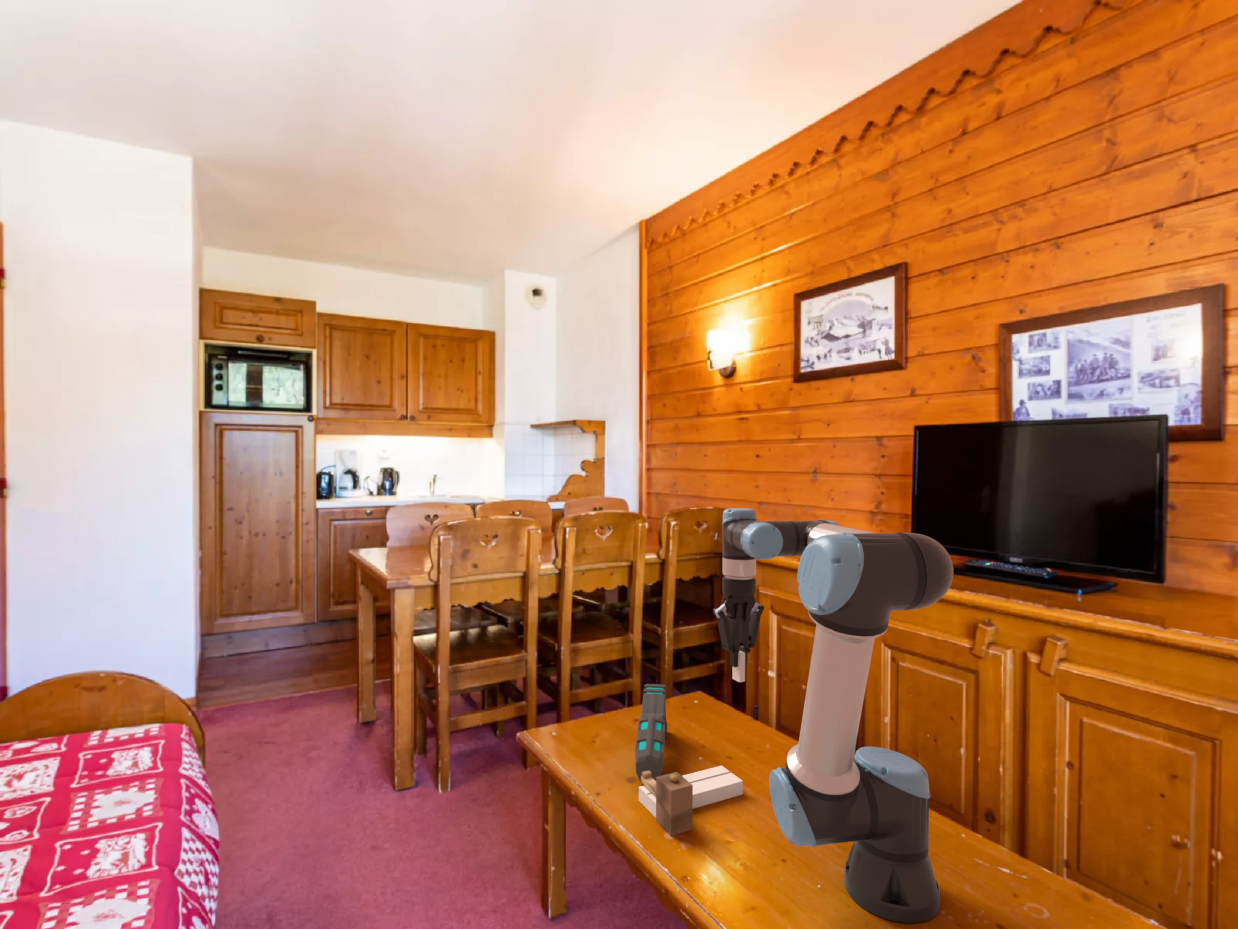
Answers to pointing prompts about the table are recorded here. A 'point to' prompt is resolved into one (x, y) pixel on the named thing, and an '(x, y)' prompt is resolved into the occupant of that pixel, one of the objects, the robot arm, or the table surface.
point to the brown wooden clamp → (671, 801)
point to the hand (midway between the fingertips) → (738, 680)
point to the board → (702, 788)
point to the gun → (651, 731)
